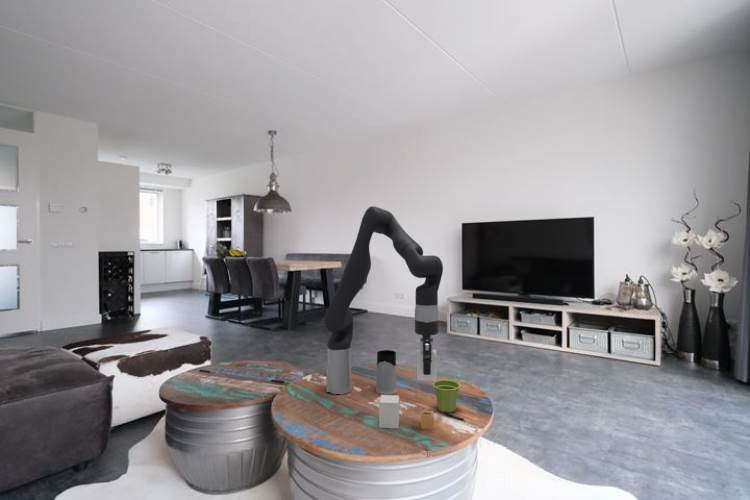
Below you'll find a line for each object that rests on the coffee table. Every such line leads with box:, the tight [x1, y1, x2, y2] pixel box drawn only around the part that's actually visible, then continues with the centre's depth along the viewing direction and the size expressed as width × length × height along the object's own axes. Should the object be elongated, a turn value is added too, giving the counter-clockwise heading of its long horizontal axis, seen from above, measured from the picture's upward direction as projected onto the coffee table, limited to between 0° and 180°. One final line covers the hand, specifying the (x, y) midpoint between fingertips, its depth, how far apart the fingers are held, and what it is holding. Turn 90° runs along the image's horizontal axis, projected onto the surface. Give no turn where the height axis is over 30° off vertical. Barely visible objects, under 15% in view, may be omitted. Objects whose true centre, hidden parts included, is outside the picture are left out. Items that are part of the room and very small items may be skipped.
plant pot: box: [432, 379, 461, 413], centre depth 131 cm, size 9×9×9 cm
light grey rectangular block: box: [416, 349, 438, 382], centre depth 119 cm, size 6×6×8 cm
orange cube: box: [420, 410, 435, 430], centre depth 119 cm, size 4×4×4 cm
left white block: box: [378, 394, 400, 429], centre depth 121 cm, size 6×6×8 cm
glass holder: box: [375, 349, 398, 395], centre depth 152 cm, size 9×14×15 cm, turn 166°
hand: (426, 370), depth 119 cm, fingers closed on light grey rectangular block, 6 cm apart
